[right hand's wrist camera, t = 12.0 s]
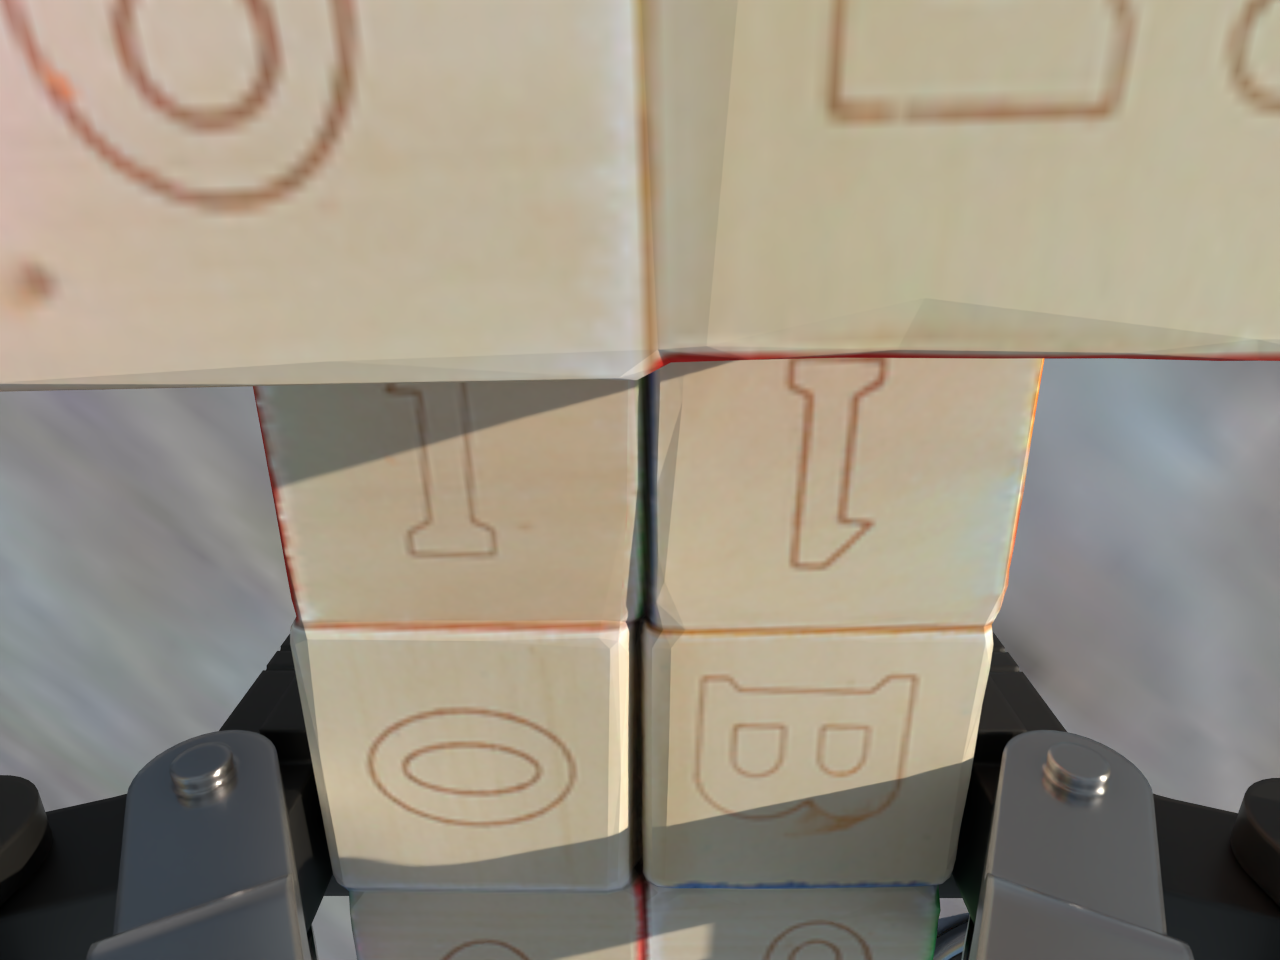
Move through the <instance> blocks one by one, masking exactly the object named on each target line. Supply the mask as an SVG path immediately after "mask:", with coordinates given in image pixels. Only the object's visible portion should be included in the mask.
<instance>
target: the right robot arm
mask: <svg viewBox="0 0 1280 960" xmlns="http://www.w3.org/2000/svg"><path fill="white" fill-rule="evenodd" d="M992 634H993V651H992V658H991V664H990V671H989V675H988V680H987V685H986V689H985V694H984V699H983V703H982V709H981V715H980V721H979V727H978V733H977V739H976V746H975V752H974V758H973V764H972V770H971V776H970V782H969V787H968V792H967V797H966V802H965V807H964V812H963V817H962V822H961V827H960V834H959V840H958V847H957V854H956V860H955V863H954V867H953V871H952V873H951V876H950V877H949V878H948V879H947V880H946V881H945V882H944V883H943V884H938V886H939V898H963V900H964V902H965V905H966V907H967V909H968V912H969V914H970V916H969V921H968V922H967V923H964V924H962V925H960V926H957V927H956V928H954V929H952V930H950V931H948V932H946V933H945V934H943V935H941V936H940V937H939V938H937V939H936V944H935V951H934V957H933V960H1280V778H1271V779H1265V780H1261V781H1258V782H1256V783H1254V784H1253V785H1251V786H1250V787H1249V788H1248V790H1247V791H1246V793H1245V795H1244V798H1243V801H1242V804H1241V807H1240V810H1239V813H1234V812H1229V811H1224V810H1220V809H1215V808H1211V807H1206V806H1202V805H1197V804H1193V803H1188V802H1183V801H1179V800H1174V799H1170V798H1166V797H1163V796H1159V795H1156V794H1153V793H1152V789H1151V787H1150V785H1149V783H1148V781H1147V779H1146V778H1145V776H1144V775H1143V774H1142V773H1141V771H1140V770H1139V769H1138V768H1137V767H1136V766H1135V765H1134V764H1133V763H1131V762H1130V761H1129V760H1127V759H1126V758H1125V757H1124V756H1122V755H1121V754H1119V753H1117V752H1116V751H1114V750H1113V749H1111V748H1109V747H1107V746H1105V745H1103V744H1101V743H1099V742H1096V741H1094V740H1092V739H1089V738H1086V737H1083V736H1080V735H1077V734H1072V733H1068V732H1067V731H1066V730H1065V729H1064V727H1063V726H1062V725H1061V723H1060V722H1059V720H1058V719H1057V718H1056V716H1055V715H1054V714H1053V712H1052V711H1051V710H1050V708H1049V707H1048V706H1047V704H1046V703H1045V702H1044V700H1043V699H1042V697H1041V696H1040V695H1039V693H1038V692H1037V691H1036V689H1035V688H1034V687H1033V685H1032V684H1031V683H1030V681H1029V680H1028V679H1027V677H1026V676H1025V675H1024V673H1023V672H1019V666H1018V665H1017V664H1016V662H1015V661H1014V660H1013V658H1012V657H1011V656H1010V654H1009V653H1008V652H1005V650H1004V646H1003V645H1002V643H1001V642H1000V641H999V639H998V638H997V637H996V635H995V634H994V633H993V631H992ZM323 896H349V891H348V890H347V889H346V888H344V887H343V886H341V885H340V884H339V883H338V882H337V881H336V879H335V877H334V875H333V871H332V866H331V860H330V855H329V850H328V844H327V839H326V834H325V829H324V823H323V818H322V813H321V807H320V802H319V797H318V791H317V786H316V781H315V776H314V770H313V765H312V759H311V754H310V748H309V743H308V738H307V732H306V727H305V721H304V716H303V710H302V705H301V699H300V694H299V689H298V683H297V678H296V672H295V667H294V661H293V656H292V650H291V645H290V634H289V636H288V637H287V638H286V640H285V641H284V643H283V644H282V645H281V650H280V651H277V652H276V653H275V655H274V656H273V658H272V659H271V660H270V662H269V663H268V664H267V669H266V671H262V673H261V674H260V675H259V677H258V678H257V679H256V681H255V682H254V684H253V685H252V686H251V688H250V689H249V690H248V692H247V693H246V694H245V696H244V697H243V699H242V700H241V701H240V703H239V704H238V705H237V707H236V708H235V710H234V711H233V712H232V714H231V715H230V716H229V718H228V719H227V720H226V722H225V723H224V725H223V726H222V727H221V729H220V730H219V731H217V732H212V733H208V734H203V735H200V736H197V737H194V738H191V739H188V740H186V741H184V742H181V743H179V744H177V745H175V746H173V747H171V748H169V749H167V750H166V751H164V752H163V753H161V754H159V755H158V756H156V757H155V758H154V759H153V760H151V761H150V762H149V763H147V764H146V765H145V766H144V767H143V768H142V769H141V770H140V771H139V773H138V774H137V775H136V776H135V778H134V779H133V781H132V783H131V785H130V787H129V789H128V793H127V794H124V795H121V796H117V797H113V798H108V799H103V800H99V801H94V802H90V803H85V804H81V805H76V806H72V807H67V808H62V809H58V810H53V811H49V812H45V810H44V807H43V804H42V801H41V798H40V795H39V792H38V790H37V788H36V787H35V785H34V784H33V783H31V782H30V781H29V780H26V779H24V778H21V777H16V776H8V775H0V960H319V959H318V953H317V947H316V941H315V936H314V931H313V926H312V922H313V919H314V917H315V915H316V912H317V910H318V908H319V905H320V903H321V901H322V898H323Z"/></svg>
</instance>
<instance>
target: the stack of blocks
mask: <svg viewBox="0 0 1280 960" xmlns="http://www.w3.org/2000/svg"><path fill="white" fill-rule="evenodd" d="M1044 358H1129V359H1169V360H1209V361H1252V360H1264V361H1280V0H0V391H45V390H93V389H140V388H187V387H235V386H253V389H254V395H255V400H256V406H257V411H258V417H259V422H260V428H261V433H262V438H263V444H264V449H265V455H266V460H267V465H268V471H269V476H270V482H271V487H272V492H273V498H274V503H275V509H276V515H277V520H278V526H279V532H280V537H281V543H282V549H283V554H284V560H285V566H286V571H287V577H288V582H289V587H290V593H291V598H292V602H293V605H294V609H295V612H296V616H297V617H296V618H295V620H294V622H293V624H292V626H291V630H290V645H291V650H292V656H293V661H294V667H295V672H296V678H297V683H298V689H299V694H300V699H301V705H302V710H303V716H304V721H305V727H306V732H307V738H308V743H309V748H310V754H311V759H312V765H313V770H314V776H315V781H316V786H317V791H318V797H319V802H320V807H321V813H322V818H323V823H324V829H325V834H326V839H327V844H328V850H329V855H330V860H331V866H332V871H333V875H334V877H335V879H336V881H337V882H338V883H339V884H340V885H341V886H343V887H344V888H346V889H347V890H348V891H349V900H350V915H351V924H352V932H353V937H354V943H355V949H356V955H357V960H933V957H934V951H935V944H936V937H937V926H938V919H939V914H940V899H939V886H938V884H943V883H944V882H945V881H946V880H947V879H948V878H949V877H950V876H951V873H952V871H953V867H954V863H955V860H956V854H957V847H958V840H959V834H960V827H961V822H962V817H963V812H964V807H965V802H966V797H967V792H968V787H969V782H970V776H971V770H972V764H973V758H974V752H975V746H976V739H977V733H978V727H979V721H980V715H981V709H982V703H983V699H984V694H985V689H986V685H987V680H988V675H989V671H990V664H991V658H992V651H993V634H992V623H993V621H994V619H995V618H996V616H997V614H998V612H999V611H1000V609H1001V605H1002V602H1003V598H1004V594H1005V592H1006V589H1007V587H1008V579H1009V568H1010V563H1011V558H1012V553H1013V548H1014V543H1015V538H1016V532H1017V526H1018V520H1019V515H1020V509H1021V503H1022V498H1023V492H1024V485H1025V478H1026V471H1027V464H1028V457H1029V450H1030V443H1031V437H1032V431H1033V424H1034V418H1035V412H1036V406H1037V400H1038V393H1039V387H1040V381H1041V375H1042V370H1043V364H1044Z"/></svg>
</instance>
